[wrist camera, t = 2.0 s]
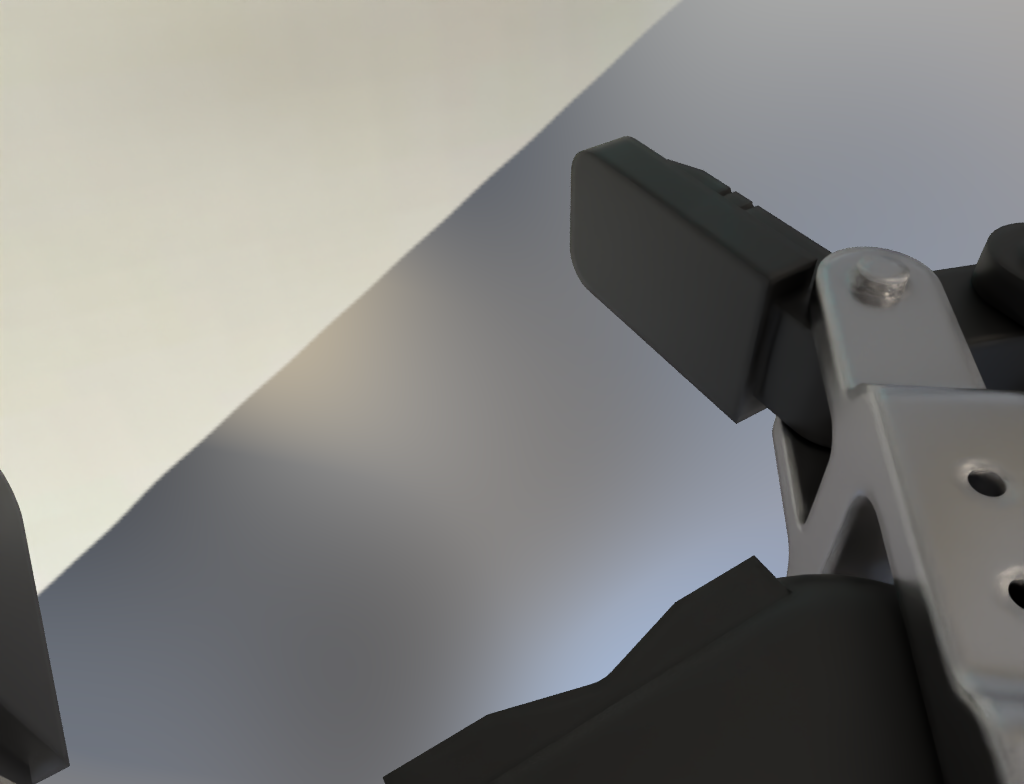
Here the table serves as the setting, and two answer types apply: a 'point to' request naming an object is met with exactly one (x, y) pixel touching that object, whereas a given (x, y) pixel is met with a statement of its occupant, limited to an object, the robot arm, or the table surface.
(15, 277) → the table surface
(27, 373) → the table surface
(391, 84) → the table surface
